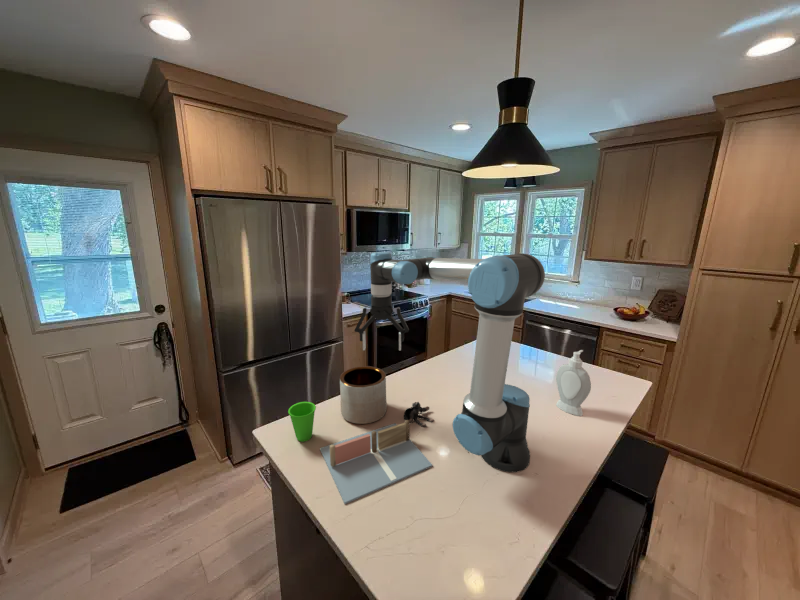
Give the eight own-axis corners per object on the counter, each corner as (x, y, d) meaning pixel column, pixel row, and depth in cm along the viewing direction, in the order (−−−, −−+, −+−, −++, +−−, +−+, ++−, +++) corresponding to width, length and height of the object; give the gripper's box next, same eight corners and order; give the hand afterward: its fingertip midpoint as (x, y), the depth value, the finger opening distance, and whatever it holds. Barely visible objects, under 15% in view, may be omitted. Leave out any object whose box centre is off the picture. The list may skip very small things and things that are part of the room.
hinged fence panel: (369, 449, 103) (368, 432, 102) (371, 452, 102) (370, 435, 100) (329, 463, 97) (328, 445, 96) (331, 467, 96) (330, 448, 94)
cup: (290, 448, 106) (287, 418, 103) (291, 431, 114) (288, 403, 112) (318, 443, 108) (316, 414, 106) (317, 427, 117) (315, 399, 114)
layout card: (432, 466, 98) (432, 464, 98) (344, 504, 85) (344, 502, 84) (395, 424, 118) (395, 422, 118) (319, 449, 105) (319, 447, 105)
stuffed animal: (417, 429, 114) (401, 400, 120) (408, 440, 120) (393, 412, 127) (441, 417, 121) (425, 390, 127) (431, 428, 127) (416, 402, 133)
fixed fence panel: (410, 441, 109) (410, 421, 107) (373, 455, 102) (372, 434, 101) (407, 438, 110) (408, 419, 109) (371, 452, 104) (370, 431, 102)
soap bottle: (591, 412, 125) (601, 354, 120) (583, 420, 121) (592, 360, 115) (558, 399, 135) (565, 344, 130) (549, 405, 131) (556, 349, 125)
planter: (390, 422, 119) (389, 384, 116) (341, 428, 116) (339, 389, 112) (382, 398, 136) (382, 363, 132) (340, 402, 133) (338, 367, 129)
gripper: (415, 292, 121) (414, 345, 126) (349, 292, 121) (351, 345, 126) (415, 297, 113) (415, 353, 118) (345, 296, 114) (347, 352, 119)
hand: (382, 349), depth 122 cm, fingers open, 13 cm apart
